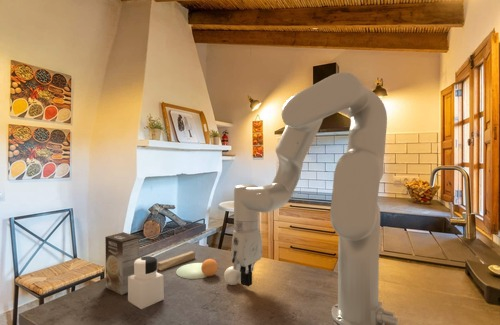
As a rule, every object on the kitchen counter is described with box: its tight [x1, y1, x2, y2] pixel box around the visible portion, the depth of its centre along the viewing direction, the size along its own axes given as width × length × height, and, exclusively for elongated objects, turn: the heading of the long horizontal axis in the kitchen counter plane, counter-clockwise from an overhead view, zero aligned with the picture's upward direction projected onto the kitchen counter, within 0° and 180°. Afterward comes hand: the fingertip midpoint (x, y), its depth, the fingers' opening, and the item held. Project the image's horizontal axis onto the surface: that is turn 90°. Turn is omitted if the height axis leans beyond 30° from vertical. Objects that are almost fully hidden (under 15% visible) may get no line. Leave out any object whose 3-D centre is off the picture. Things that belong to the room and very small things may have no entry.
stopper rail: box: [157, 250, 196, 271], centre depth 109 cm, size 2×16×2 cm, turn 142°
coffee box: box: [105, 231, 140, 296], centre depth 89 cm, size 9×6×16 cm
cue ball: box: [223, 265, 241, 286], centre depth 91 cm, size 6×6×6 cm
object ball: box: [201, 258, 219, 277], centre depth 98 cm, size 6×6×6 cm
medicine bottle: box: [127, 255, 165, 310], centre depth 81 cm, size 7×7×12 cm
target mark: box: [176, 262, 209, 280], centre depth 102 cm, size 14×14×1 cm
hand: (246, 284), depth 88 cm, fingers closed
